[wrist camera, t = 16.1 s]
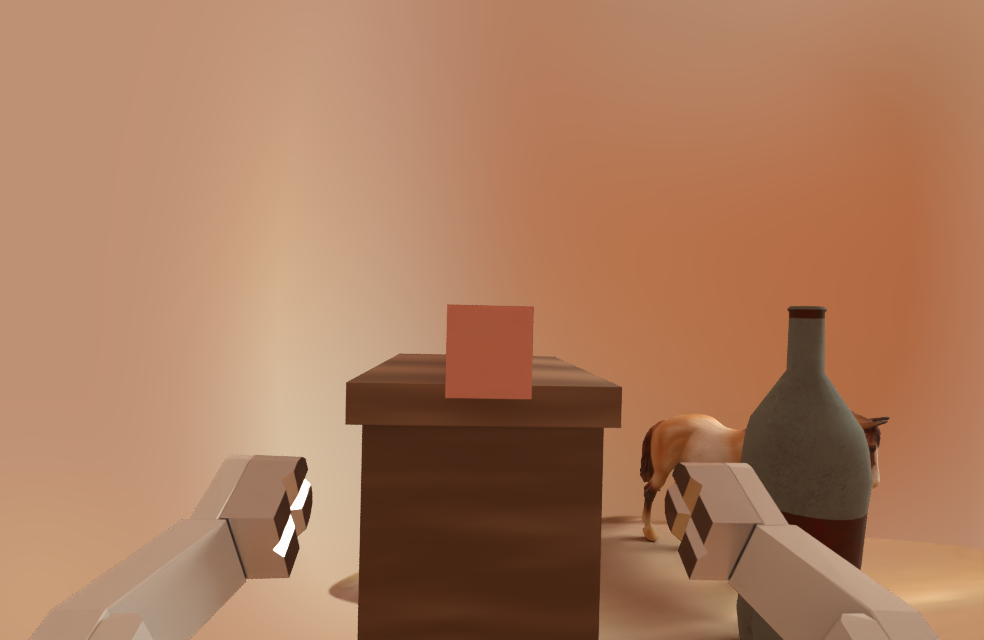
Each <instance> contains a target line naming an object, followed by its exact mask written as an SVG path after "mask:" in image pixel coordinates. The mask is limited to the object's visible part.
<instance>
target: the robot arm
mask: <svg viewBox="0 0 984 640" xmlns="http://www.w3.org/2000/svg"><path fill="white" fill-rule="evenodd" d="M307 471H308V468H307V463H306V459H305V458H303V457H288V456H264V455H255V456H254V455H253V456H251V455H231V456H230V457H228V458H227V459H226V460H225V461H224V462H223V464H222V466H221V467H220V469H219V471H218V472H217V474H216V476H215V478H214V479H213V481H212V482H211V484H210V486H209V487H208V489H207V491H206V493H205V494H204V496H203V497H202V499H201V501H200V502H199V504H198V506H197V508H196V509H195V511H194V513H193V514H192V516H191V518H190V519H181V520H180V521H179V522H177V523H176V524H174V525H173V526H172V527H170V528H168V529H167V530H166V531H164V532H163V533H161V534H160V535H158V536H157V537H156V538H154V539H153V540H152V541H150V542H148V543H147V544H146V545H144V546H143V547H141V548H140V549H138V550H137V551H136V552H134V553H133V554H131V555H130V556H128V557H127V558H125V559H124V560H122V561H121V562H119V563H118V564H117V565H115V566H114V567H112V568H111V569H109V570H108V571H106V572H105V573H104V574H102V575H101V576H99V577H98V578H96V579H95V580H94V581H92V582H91V583H89V584H88V585H86V586H85V587H83V588H82V589H81V590H79V591H78V592H76V593H75V594H73V595H72V596H70V597H69V598H67V599H66V600H65V601H63V602H62V603H60V604H59V605H58V606H56V607H55V608H53V609H52V610H50V612H49V613H48V614H47V616H46V617H45V618H44V620H43V621H42V622H41V624H40V625H39V626H38V628H37V629H36V630H35V632H34V633H33V634H32V636H31V637H30V638H29V640H190V639H191V638H192V637H193V636H194V635H195V634H196V632H197V631H198V630H199V629H200V628H201V627H202V626H203V625H204V624H205V623H206V622H207V621H208V620H209V619H210V618H211V617H212V616H213V615H214V614H215V613H216V612H217V611H218V610H219V609H220V608H221V607H222V606H223V605H224V604H225V603H226V602H227V601H228V600H229V599H230V598H231V597H232V596H233V595H234V593H235V592H236V591H237V590H238V589H239V588H240V587H241V586H242V585H243V584H244V583H245V582H246V579H262V578H289V577H290V574H291V571H292V568H293V565H294V562H295V559H296V557H297V554H298V551H299V544H298V539H297V536H299V535H300V534H301V533H302V532H303V531H304V530H306V528H307V525H308V522H309V518H310V514H311V507H312V488H311V484H310V483H309V482H308V481H307V480H305V476H306V473H307ZM673 477H674V480H675V482H676V483H675V484H673V485H672V486H671V487H670V488H668V490H667V493H666V497H665V515H666V520H667V523H668V526H669V529H670V531H671V533H672V534H673V535H675V536H676V537H677V538H678V539H679V540H680V541H681V544H680V547H679V550H678V552H679V554H680V557H681V559H682V562H683V564H684V567H685V569H686V572H687V574H688V577H689V579H690V580H717V581H729V584H730V585H731V586H732V587H733V588H734V589H735V590H736V591H737V592H738V593H739V594H740V595H741V596H742V597H743V598H744V599H745V600H746V601H747V602H748V603H749V604H750V605H751V606H752V607H753V608H754V610H755V611H756V612H757V613H758V614H759V615H760V616H761V617H762V618H763V619H764V620H765V621H766V622H767V623H768V624H769V625H770V626H771V627H772V628H773V629H774V630H775V631H776V632H777V633H778V634H779V635H780V636H781V637H782V638H783V639H784V640H941V639H940V638H939V637H938V635H937V634H936V633H935V632H934V630H933V629H932V628H931V626H930V625H929V624H928V622H927V621H926V620H925V618H924V617H923V616H922V615H921V613H920V612H919V611H917V610H916V609H915V608H913V607H912V606H910V605H909V604H907V603H906V602H905V601H903V600H902V599H900V598H899V597H897V596H896V595H895V594H893V593H892V592H890V591H889V590H887V589H886V588H885V587H883V586H882V585H880V584H879V583H878V582H876V581H875V580H873V579H872V578H870V577H869V576H868V575H866V574H865V573H863V572H862V571H860V570H859V569H858V568H856V567H855V566H853V565H852V564H851V563H849V562H848V561H846V560H845V559H843V558H842V557H841V556H839V555H838V554H836V553H835V552H833V551H832V550H831V549H829V548H828V547H826V546H825V545H823V544H822V543H821V542H819V541H818V540H816V539H815V538H814V537H812V536H811V535H809V534H808V533H806V532H805V531H804V530H802V529H801V528H799V527H798V526H796V525H789V524H788V522H787V521H786V519H785V518H784V516H783V515H782V513H781V512H780V510H779V509H778V507H777V505H776V504H775V502H774V501H773V499H772V498H771V496H770V495H769V493H768V492H767V490H766V488H765V487H764V485H763V484H762V482H761V481H760V479H759V478H758V476H757V475H756V473H755V471H754V470H753V468H752V467H751V466H750V465H748V464H747V463H678V464H677V465H676V466H675V469H674V472H673Z"/></svg>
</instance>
